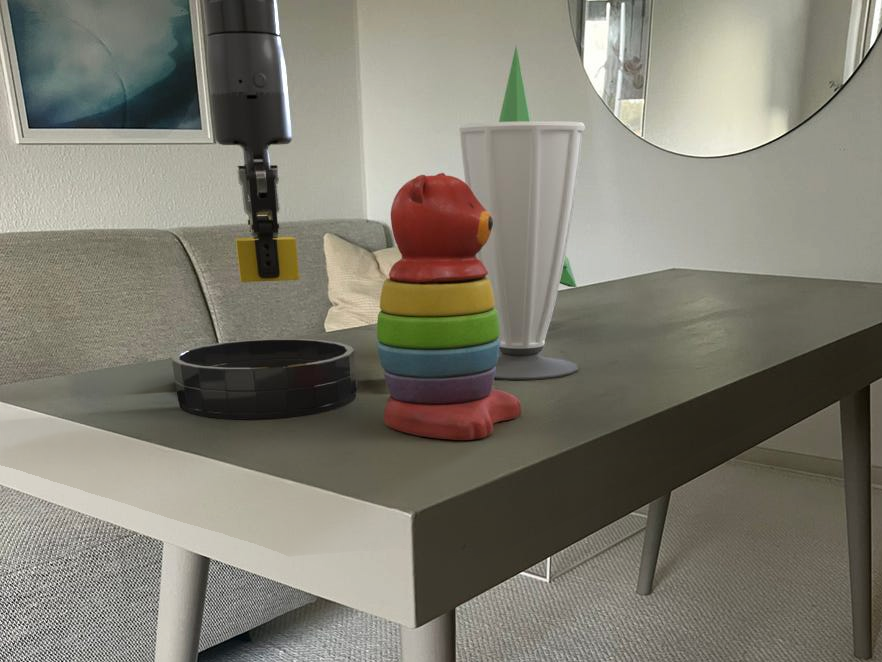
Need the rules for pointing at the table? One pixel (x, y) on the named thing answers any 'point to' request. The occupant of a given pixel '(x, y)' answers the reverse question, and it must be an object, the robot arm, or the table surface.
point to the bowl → (265, 378)
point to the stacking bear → (440, 316)
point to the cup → (524, 230)
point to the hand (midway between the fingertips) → (268, 274)
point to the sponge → (285, 256)
